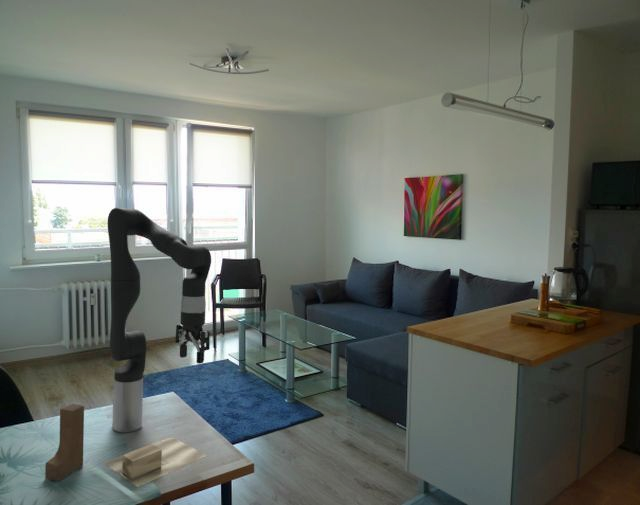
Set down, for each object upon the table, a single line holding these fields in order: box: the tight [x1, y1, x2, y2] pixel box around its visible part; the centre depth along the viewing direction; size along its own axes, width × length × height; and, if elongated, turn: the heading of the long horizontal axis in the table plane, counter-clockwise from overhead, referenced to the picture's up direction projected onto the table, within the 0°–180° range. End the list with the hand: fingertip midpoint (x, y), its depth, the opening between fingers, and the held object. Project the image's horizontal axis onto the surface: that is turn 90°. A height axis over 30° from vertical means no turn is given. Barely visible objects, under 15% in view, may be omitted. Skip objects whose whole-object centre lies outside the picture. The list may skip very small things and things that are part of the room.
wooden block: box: [44, 403, 85, 482], centre depth 131 cm, size 9×4×18 cm, turn 162°
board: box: [103, 436, 208, 488], centre depth 139 cm, size 18×23×1 cm
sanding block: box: [122, 443, 162, 481], centre depth 132 cm, size 5×9×6 cm, turn 142°
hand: (191, 360), depth 149 cm, fingers open, 8 cm apart
